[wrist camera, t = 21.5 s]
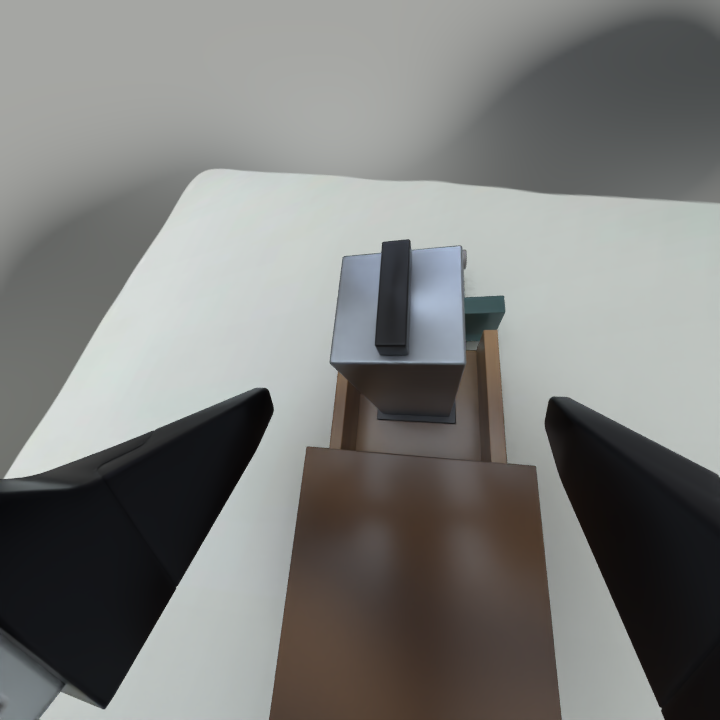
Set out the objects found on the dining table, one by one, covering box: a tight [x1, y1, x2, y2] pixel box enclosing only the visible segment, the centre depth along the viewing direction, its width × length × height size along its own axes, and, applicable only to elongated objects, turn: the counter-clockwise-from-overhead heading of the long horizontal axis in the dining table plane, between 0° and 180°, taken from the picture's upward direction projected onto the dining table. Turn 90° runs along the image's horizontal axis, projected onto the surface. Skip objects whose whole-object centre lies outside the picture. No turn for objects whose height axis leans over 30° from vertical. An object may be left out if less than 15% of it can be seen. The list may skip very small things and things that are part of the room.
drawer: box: [329, 250, 507, 463], centre depth 20 cm, size 17×11×5 cm, turn 175°
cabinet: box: [269, 447, 562, 720], centre depth 16 cm, size 13×12×6 cm
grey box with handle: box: [330, 239, 466, 424], centre depth 15 cm, size 5×5×13 cm
